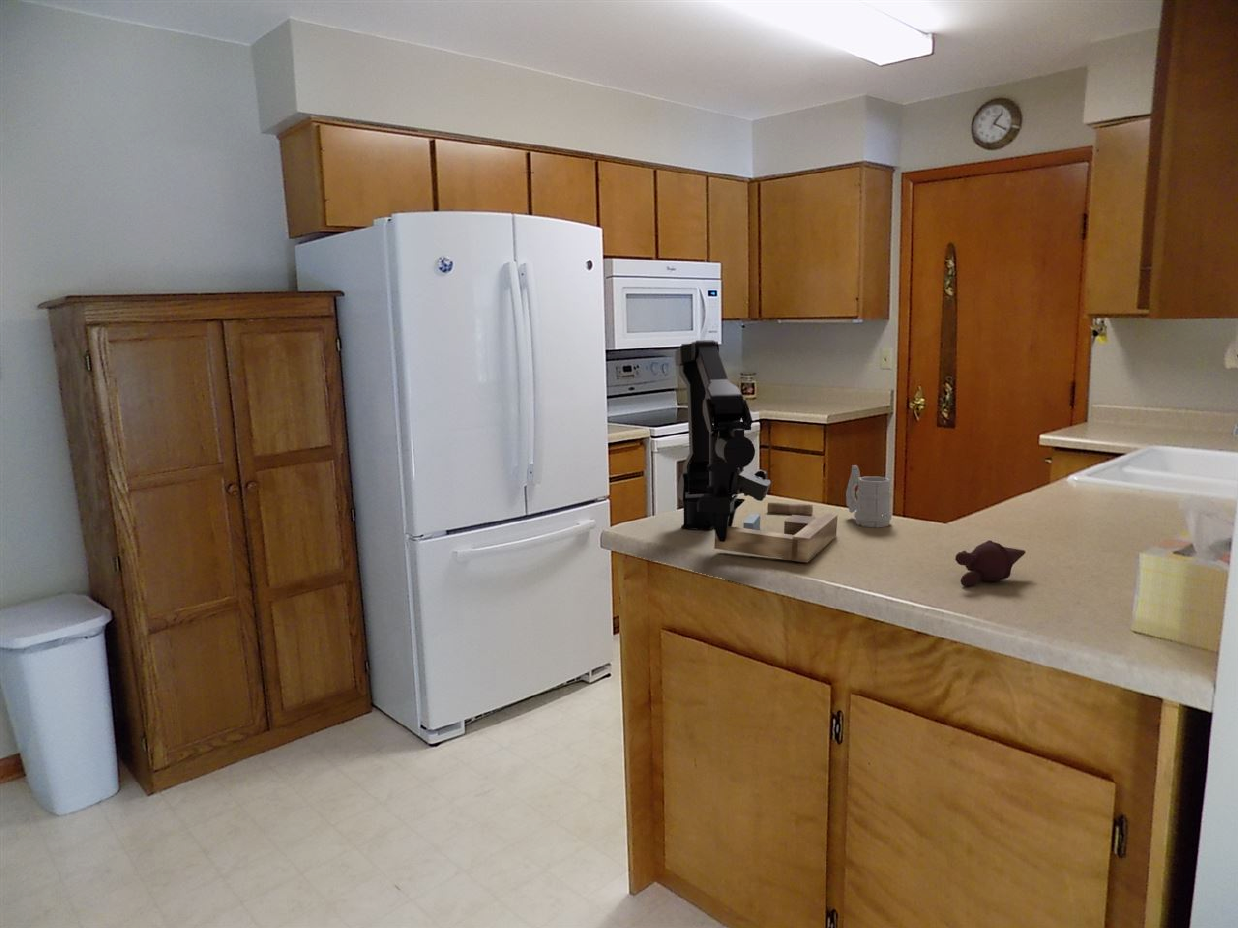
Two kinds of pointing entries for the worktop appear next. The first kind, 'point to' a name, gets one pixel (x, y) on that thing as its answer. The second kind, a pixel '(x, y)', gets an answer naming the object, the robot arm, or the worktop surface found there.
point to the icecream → (988, 562)
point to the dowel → (790, 508)
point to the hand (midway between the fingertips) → (724, 539)
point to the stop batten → (752, 522)
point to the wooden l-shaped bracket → (782, 540)
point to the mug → (869, 499)
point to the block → (796, 523)
